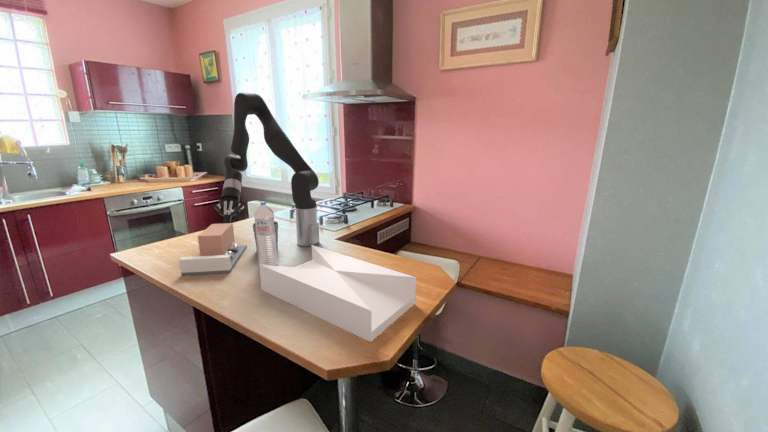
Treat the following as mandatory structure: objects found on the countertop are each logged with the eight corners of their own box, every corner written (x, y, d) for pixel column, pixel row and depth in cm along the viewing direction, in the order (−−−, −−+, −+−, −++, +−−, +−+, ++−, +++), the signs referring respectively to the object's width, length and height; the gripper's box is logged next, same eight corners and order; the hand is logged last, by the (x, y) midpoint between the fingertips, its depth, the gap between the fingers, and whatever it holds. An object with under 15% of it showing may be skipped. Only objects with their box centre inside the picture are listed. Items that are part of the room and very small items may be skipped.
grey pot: (253, 255, 130) (250, 227, 127) (257, 246, 140) (254, 220, 137) (278, 253, 133) (276, 226, 129) (281, 245, 142) (279, 219, 139)
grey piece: (207, 249, 136) (205, 235, 135) (246, 247, 139) (245, 234, 137) (181, 275, 112) (179, 259, 110) (230, 272, 114) (228, 257, 113)
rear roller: (240, 249, 134) (239, 242, 133) (238, 252, 131) (237, 245, 130) (207, 250, 131) (206, 244, 131) (204, 253, 129) (203, 246, 128)
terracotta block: (214, 241, 133) (212, 223, 131) (234, 241, 135) (232, 223, 133) (200, 256, 118) (197, 236, 116) (223, 255, 120) (220, 235, 118)
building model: (415, 305, 96) (416, 277, 93) (371, 344, 78) (371, 310, 76) (312, 268, 120) (311, 244, 118) (261, 290, 103) (259, 264, 100)
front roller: (235, 256, 126) (234, 249, 125) (232, 259, 123) (232, 252, 123) (199, 258, 124) (198, 251, 123) (196, 261, 121) (195, 254, 120)
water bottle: (281, 263, 123) (277, 201, 116) (268, 270, 117) (262, 205, 110) (268, 260, 125) (263, 199, 119) (254, 267, 119) (248, 202, 113)
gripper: (213, 186, 142) (207, 219, 133) (244, 186, 144) (240, 219, 136) (218, 195, 148) (213, 228, 140) (248, 195, 151) (244, 227, 142)
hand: (226, 223), depth 138 cm, fingers closed
